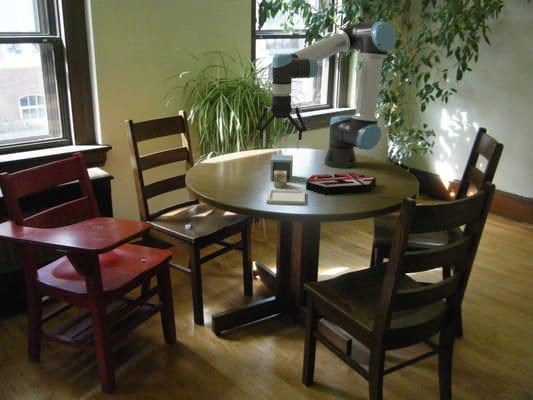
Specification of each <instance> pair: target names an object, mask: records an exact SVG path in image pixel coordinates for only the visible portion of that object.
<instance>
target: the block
mask: <svg viewBox="0 0 533 400" xmlns="http://www.w3.org/2000/svg"><path fill="white" fill-rule="evenodd" d="M287 178H288V176H287V171H274V177H273V188H274V187H277V188H276V189H287Z"/></svg>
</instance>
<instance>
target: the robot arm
mask: <svg viewBox="0 0 533 400" xmlns="http://www.w3.org/2000/svg"><path fill="white" fill-rule="evenodd" d="M396 39H397V36H396V32H395V29H394V27H393V25H391V24H390V23H388V22H385V21H359V22H355V23H354V24H351V25H349V26H347V27H344V28H342V29H338V30H336V33H335V34H334V35H331V36H329V37H326V38H324V39H322V40H320V41H318V42H315V43H313V44H310V45H308V46H306V47H303V48H302V49H299V50H297V51H294V52H292V53H289V54H288V53H275V54H273V56H272V63H271V64H272V65H271V68H272V69H271V71H272V72H271V73H272V74H271V75H272V79H271V80H272V83H271V84H272V85H271V88H272V90H271V93H272V96H271V97H272V98H271V107H270V106H264V108H263V114H262V115H261V117H260V119H259V120H258V123H257V125H256V127H255V130H256V131H259V132H260V137H259V138H260V140H262V148H266V134H267V133H266V132H267V131H266V130H265V129H266V128H267V127H268V126H269V125H270V124H271V122H272V121H274V119H275V118H276V119H288V120H289V121H290V123H292V125H293V126H294V127H295V129H296V130H297V132H296V149H297V150H298V149H299V147H300V141H302V139H303V138H302V137H303V133H304V132H306V131H307V126H306V124H305V122H304V120H303V117H302V115H301V113H300V108H299V106H295V107H292V95H291V94H292V81H293V79H310V78H314V77H316V76H317V75H318V72H319V63H318V62H320V61H323V60H325V59H328V58H330V57H332V56H334V55H337V54H339V53H341V52H343V53H346V52H349V51H352V50H353V51H354V50H359V55H360V56H361V57H362V64H361V69H360V70H361V71H360V77H359V84H358V92H357V99H356V106H355V107H356V108H355V113H354V114H353V115H337V116H332V117H331V118H330V122H329V139H328V141H329V144H328V150H327V151H326V155H325V158H324V165H326V166H327V167H331V168H337V169H348V168H349V169H350V168H355V167H357V163H358V162H357V161H358V160H357V156H356V153H355V152H356V151H355V148H357V149H359V150H364V151H367V150H372V149H373V148H375V147H376V146H377V145H378V144H379V143H380V141H381V137H382V130H381V127H380V126H379V125H378V118H377V116H376V110H377V104H378V99H379V98H378V96H379V90H380V83H381V77H382V70H383V63H384V59H385V58H387V57H388V53H389V51H391V50H392V49H393V47H394V46H395V44H396ZM269 112H271V113H272V115H271V116H270V117H269V118H268V120H266V122H265V123H264V124H263V121H264V119H265V117H266V115H267V114H268V113H269ZM292 112H293V113H294V114H295V115H296V118H297V119H298V121H299V123H300V125H301V126H300V125H299V124H298V123H297V121H296V120H295V118H293V116H292V115H291V113H292ZM262 124H263V125H262ZM261 125H262V126H261Z"/></svg>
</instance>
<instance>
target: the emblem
mask: <svg viewBox="0 0 533 400" xmlns="http://www.w3.org/2000/svg"><path fill="white" fill-rule="evenodd" d="M376 181H377V177H376V176H369V175H367V176H366V175H365V174H362V173H357V172H343V173H341V172H339V173H334V175H330V174H328V173H327V174H312V175H311V176H310V177H309V178H308V179H307V180H306V182H305V183H306V184H305V190H306V189H307V190H306V191H308V190H309V192H312V191H313V192H312V193H315V192H316V193H315V194H319V195H323V196H337V195H339V196H341V195H354V194H364V193H367V194H369V193H372V191H373V190H374V188H375V187H376Z"/></svg>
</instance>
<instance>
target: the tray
mask: <svg viewBox="0 0 533 400" xmlns="http://www.w3.org/2000/svg"><path fill="white" fill-rule="evenodd" d="M305 190H306V189H284V188H273V189H272V188H268V192H267V197H266V205H288V206H291V205H293V206H296V205H297V206H305V203H306V201H305V198H306V197H305V196H306V195H305Z"/></svg>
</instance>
